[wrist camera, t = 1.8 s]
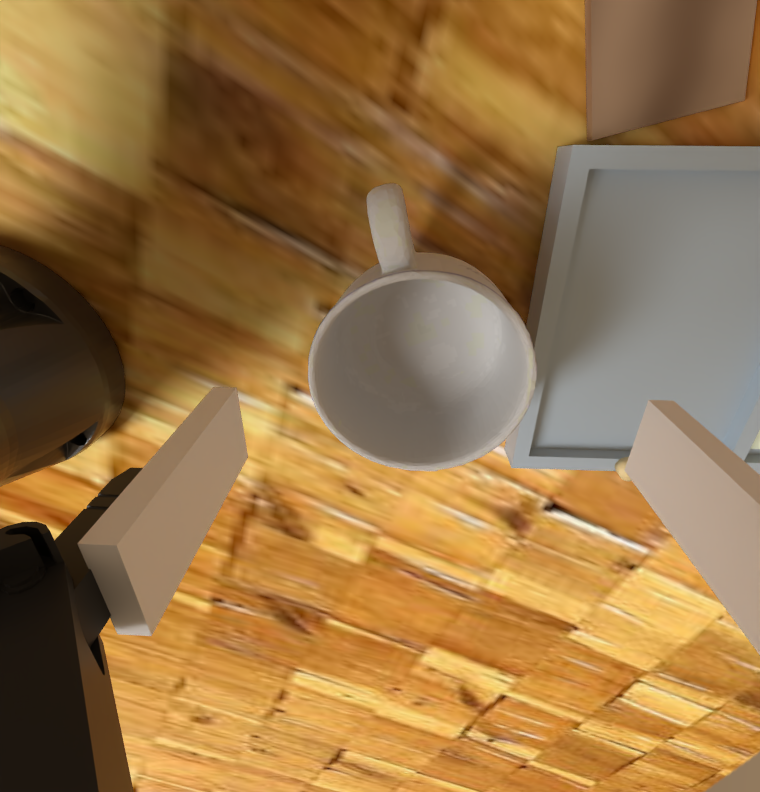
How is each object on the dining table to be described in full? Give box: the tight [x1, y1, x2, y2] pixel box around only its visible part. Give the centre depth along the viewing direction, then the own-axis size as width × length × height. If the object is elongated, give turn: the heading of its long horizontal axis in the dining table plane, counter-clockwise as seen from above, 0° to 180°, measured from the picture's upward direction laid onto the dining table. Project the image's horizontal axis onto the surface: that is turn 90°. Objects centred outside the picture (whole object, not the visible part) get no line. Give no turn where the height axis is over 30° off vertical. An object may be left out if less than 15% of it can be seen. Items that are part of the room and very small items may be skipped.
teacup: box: [308, 183, 537, 471], centre depth 23 cm, size 14×11×8 cm
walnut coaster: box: [585, 0, 757, 141], centre depth 20 cm, size 7×7×1 cm
